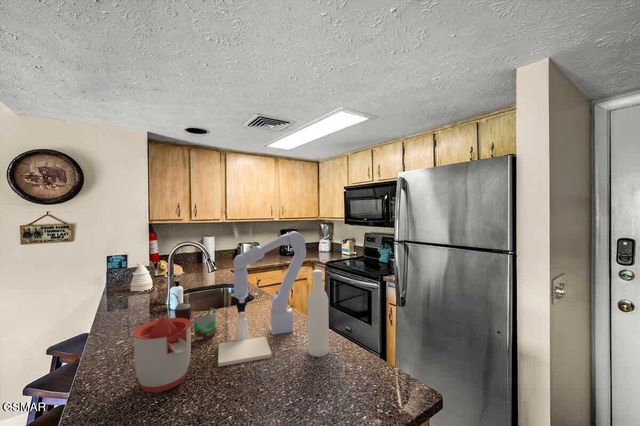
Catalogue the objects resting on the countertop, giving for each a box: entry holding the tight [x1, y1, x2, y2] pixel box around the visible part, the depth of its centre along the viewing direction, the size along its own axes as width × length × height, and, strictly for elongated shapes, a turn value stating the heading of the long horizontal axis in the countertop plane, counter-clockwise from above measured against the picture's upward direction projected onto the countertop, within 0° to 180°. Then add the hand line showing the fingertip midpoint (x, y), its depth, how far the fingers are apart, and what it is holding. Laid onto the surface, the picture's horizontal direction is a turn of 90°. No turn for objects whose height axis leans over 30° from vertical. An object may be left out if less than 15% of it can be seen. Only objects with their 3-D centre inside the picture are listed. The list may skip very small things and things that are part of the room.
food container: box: [192, 307, 218, 342], centre depth 118 cm, size 12×6×10 cm, turn 169°
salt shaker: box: [235, 311, 250, 341], centre depth 115 cm, size 5×5×11 cm
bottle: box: [306, 269, 330, 358], centre depth 104 cm, size 8×8×30 cm
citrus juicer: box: [132, 316, 192, 394], centre depth 86 cm, size 16×17×20 cm
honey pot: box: [130, 262, 153, 292], centre depth 195 cm, size 13×13×18 cm
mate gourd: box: [171, 292, 192, 321], centre depth 136 cm, size 8×8×15 cm
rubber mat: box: [217, 336, 273, 368], centre depth 105 cm, size 18×15×1 cm
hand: (241, 314), depth 120 cm, fingers closed
